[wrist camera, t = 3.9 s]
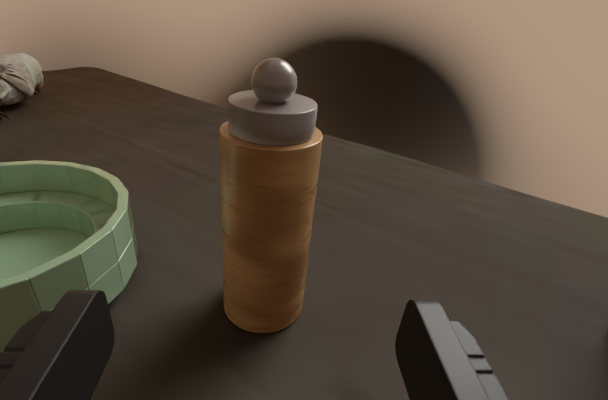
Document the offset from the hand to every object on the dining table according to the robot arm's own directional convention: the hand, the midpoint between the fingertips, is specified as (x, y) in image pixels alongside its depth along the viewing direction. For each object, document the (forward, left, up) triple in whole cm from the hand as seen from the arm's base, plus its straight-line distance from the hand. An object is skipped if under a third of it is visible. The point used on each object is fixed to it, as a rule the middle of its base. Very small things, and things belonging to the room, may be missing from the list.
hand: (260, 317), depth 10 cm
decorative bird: (+35, -44, -9) cm, 57 cm away
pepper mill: (0, -9, -9) cm, 13 cm away
